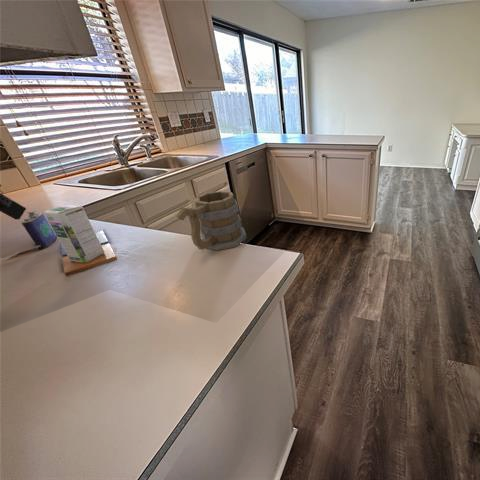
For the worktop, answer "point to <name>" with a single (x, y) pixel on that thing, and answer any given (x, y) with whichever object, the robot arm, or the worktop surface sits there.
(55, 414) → the worktop surface
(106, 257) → the amber mat
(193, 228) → the tankard
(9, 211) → the robot arm
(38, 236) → the flask
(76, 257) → the syrup box
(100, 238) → the slate mat
